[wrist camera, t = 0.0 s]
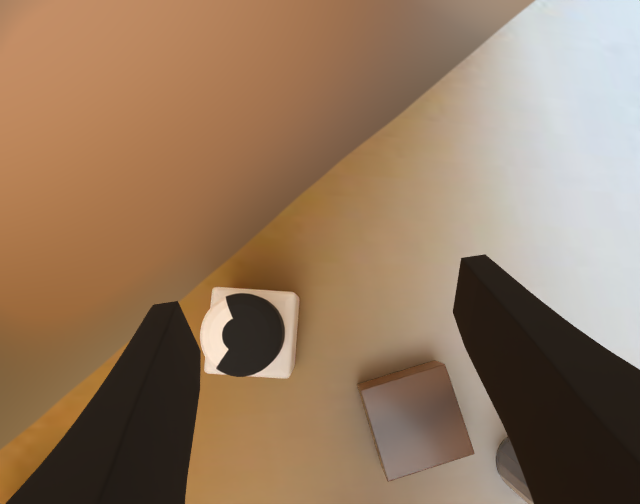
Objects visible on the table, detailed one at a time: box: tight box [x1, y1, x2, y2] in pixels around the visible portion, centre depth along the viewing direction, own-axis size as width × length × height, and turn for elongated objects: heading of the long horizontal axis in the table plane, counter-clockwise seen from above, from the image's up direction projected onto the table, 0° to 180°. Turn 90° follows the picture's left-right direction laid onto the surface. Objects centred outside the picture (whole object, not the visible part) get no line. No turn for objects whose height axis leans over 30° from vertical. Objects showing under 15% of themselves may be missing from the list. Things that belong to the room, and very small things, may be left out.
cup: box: [496, 437, 534, 504], centre depth 38 cm, size 5×5×7 cm
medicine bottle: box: [200, 287, 300, 379], centre depth 37 cm, size 7×7×12 cm
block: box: [357, 360, 474, 481], centre depth 40 cm, size 8×8×4 cm
